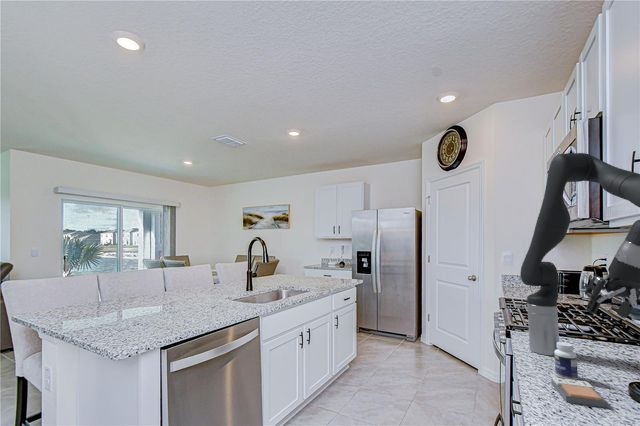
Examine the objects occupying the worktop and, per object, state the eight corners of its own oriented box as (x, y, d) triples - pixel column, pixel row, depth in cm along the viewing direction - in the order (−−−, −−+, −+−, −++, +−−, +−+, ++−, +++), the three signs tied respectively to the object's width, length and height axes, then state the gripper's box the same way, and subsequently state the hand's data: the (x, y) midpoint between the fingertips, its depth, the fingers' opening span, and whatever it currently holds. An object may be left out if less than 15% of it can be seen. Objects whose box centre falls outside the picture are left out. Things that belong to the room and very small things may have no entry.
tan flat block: (551, 384, 91) (551, 376, 92) (587, 389, 88) (587, 380, 89) (566, 402, 81) (565, 393, 81) (608, 408, 78) (607, 398, 78)
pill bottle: (551, 375, 98) (549, 342, 99) (563, 372, 100) (561, 340, 101) (570, 382, 93) (568, 347, 94) (582, 379, 95) (580, 345, 96)
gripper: (647, 257, 83) (618, 308, 89) (595, 250, 83) (569, 302, 89) (677, 272, 76) (644, 326, 82) (620, 264, 76) (591, 320, 82)
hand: (605, 314), depth 85 cm, fingers open, 8 cm apart
